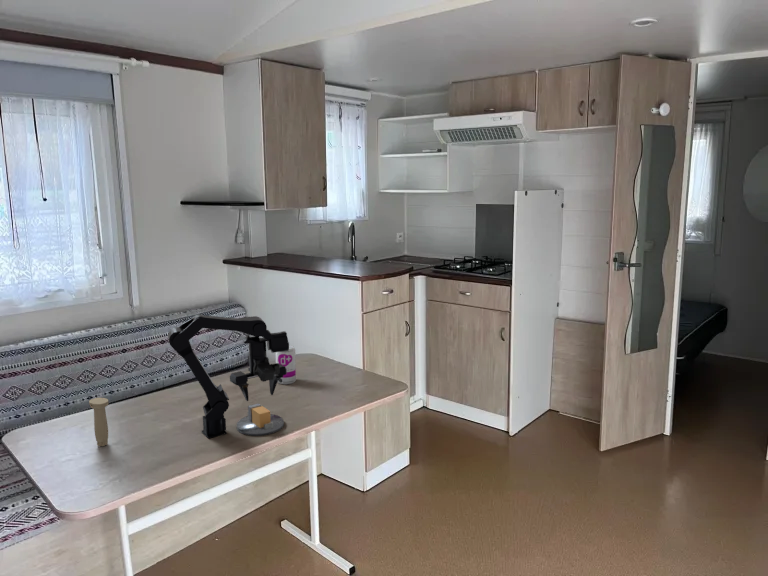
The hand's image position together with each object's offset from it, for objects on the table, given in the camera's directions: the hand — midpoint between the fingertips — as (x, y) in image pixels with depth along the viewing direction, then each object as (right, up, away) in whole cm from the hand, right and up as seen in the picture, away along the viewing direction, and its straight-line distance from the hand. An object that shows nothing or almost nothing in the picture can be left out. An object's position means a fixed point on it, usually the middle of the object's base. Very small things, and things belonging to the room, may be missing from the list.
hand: (259, 397), depth 203 cm
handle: (-48, -13, -13) cm, 51 cm away
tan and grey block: (0, -9, +2) cm, 9 cm away
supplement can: (+1, -2, +47) cm, 47 cm away
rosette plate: (0, -10, +2) cm, 10 cm away
